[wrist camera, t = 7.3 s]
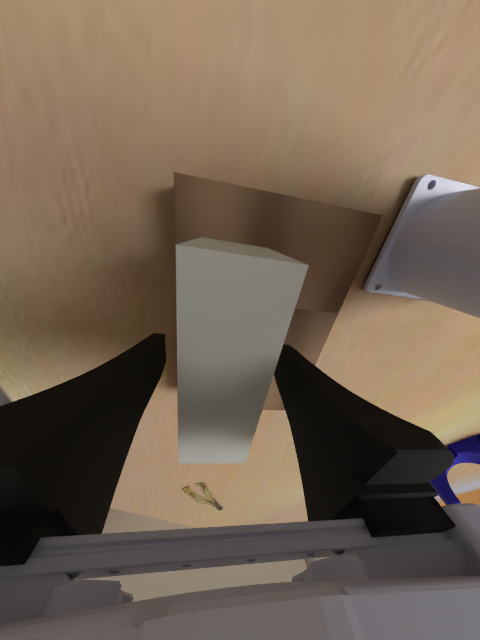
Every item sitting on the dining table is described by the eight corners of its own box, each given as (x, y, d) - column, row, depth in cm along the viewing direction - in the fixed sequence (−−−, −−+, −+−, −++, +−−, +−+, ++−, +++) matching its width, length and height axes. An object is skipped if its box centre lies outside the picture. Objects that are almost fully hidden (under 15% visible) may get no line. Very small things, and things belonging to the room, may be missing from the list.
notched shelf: (354, 218, 13) (382, 215, 10) (287, 391, 21) (294, 410, 18) (184, 184, 11) (173, 172, 9) (183, 386, 19) (177, 406, 17)
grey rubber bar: (267, 247, 11) (308, 265, 5) (238, 385, 16) (244, 462, 11) (201, 237, 10) (175, 244, 5) (194, 383, 15) (178, 463, 10)
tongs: (217, 505, 36) (216, 518, 35) (182, 478, 31) (180, 493, 29) (235, 499, 36) (235, 513, 34) (203, 472, 31) (201, 487, 29)
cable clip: (485, 430, 29) (543, 475, 24) (483, 442, 31) (537, 486, 26) (411, 456, 31) (449, 502, 26) (414, 465, 33) (450, 509, 28)
